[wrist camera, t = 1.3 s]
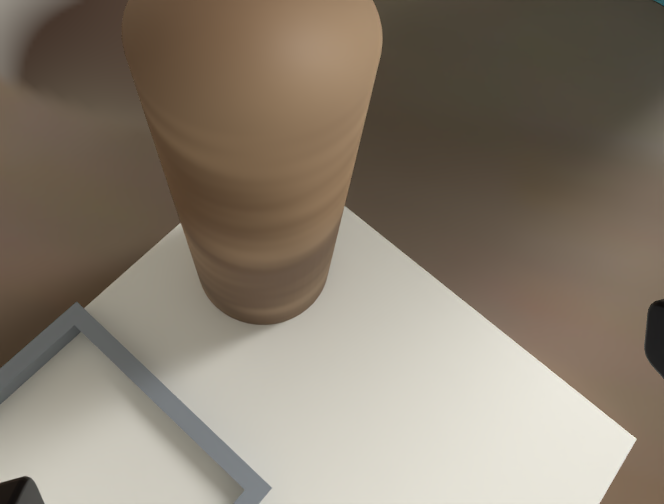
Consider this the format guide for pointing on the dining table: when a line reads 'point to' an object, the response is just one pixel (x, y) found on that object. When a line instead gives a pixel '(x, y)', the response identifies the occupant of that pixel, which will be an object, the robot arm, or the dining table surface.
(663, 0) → the vase
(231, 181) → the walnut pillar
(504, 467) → the build plate
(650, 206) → the dining table surface
